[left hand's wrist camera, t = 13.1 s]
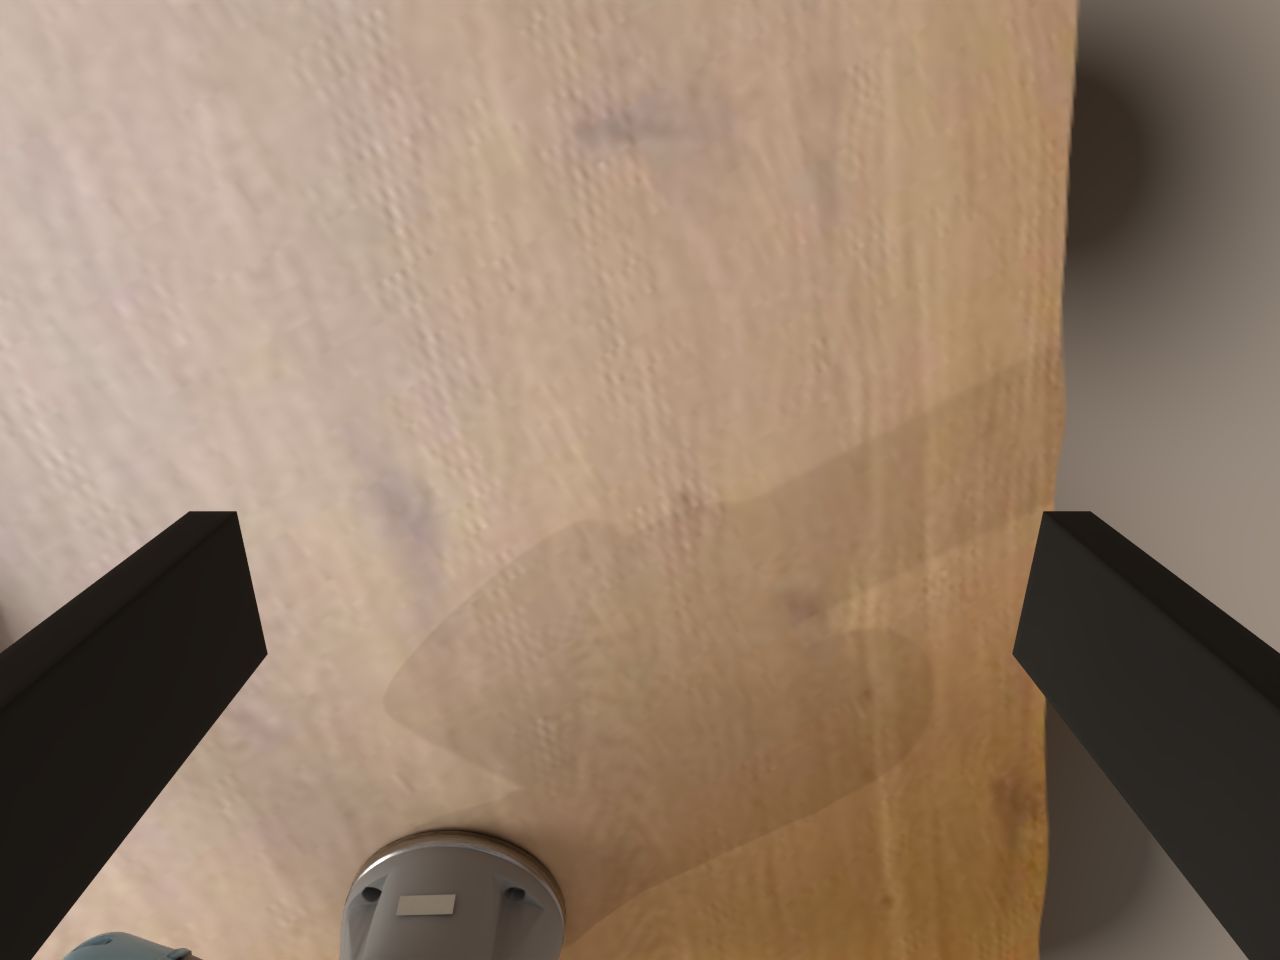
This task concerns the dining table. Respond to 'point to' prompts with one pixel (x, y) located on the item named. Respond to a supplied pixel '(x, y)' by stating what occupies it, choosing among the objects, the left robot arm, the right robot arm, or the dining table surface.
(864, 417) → the dining table surface
